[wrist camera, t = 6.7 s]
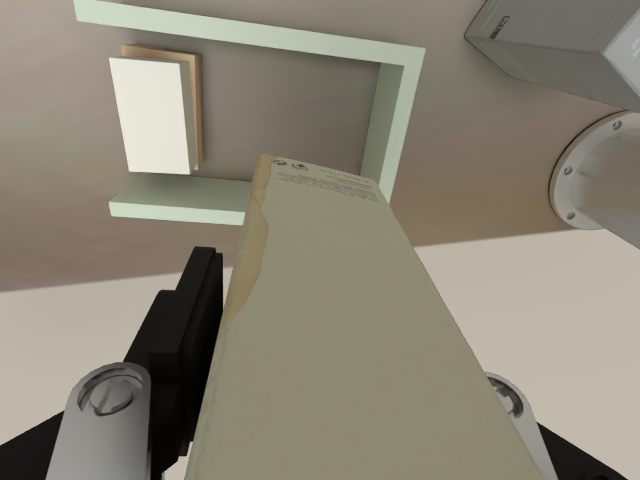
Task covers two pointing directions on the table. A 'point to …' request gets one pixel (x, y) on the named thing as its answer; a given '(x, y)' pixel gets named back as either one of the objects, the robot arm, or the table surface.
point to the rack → (396, 60)
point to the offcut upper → (155, 113)
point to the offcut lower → (195, 80)
